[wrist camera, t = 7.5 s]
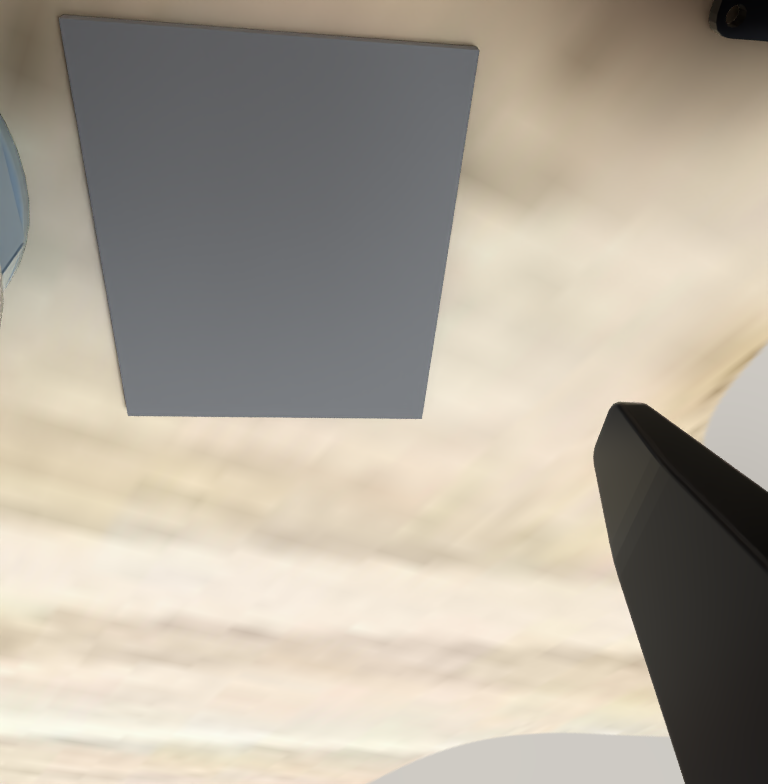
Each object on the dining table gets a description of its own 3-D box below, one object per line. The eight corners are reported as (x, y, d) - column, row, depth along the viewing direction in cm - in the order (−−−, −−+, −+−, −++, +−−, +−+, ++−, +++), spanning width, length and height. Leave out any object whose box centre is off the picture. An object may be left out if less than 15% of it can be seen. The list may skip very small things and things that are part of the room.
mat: (476, 46, 18) (479, 49, 18) (420, 411, 25) (421, 418, 25) (63, 14, 17) (58, 18, 16) (130, 408, 24) (128, 415, 24)
